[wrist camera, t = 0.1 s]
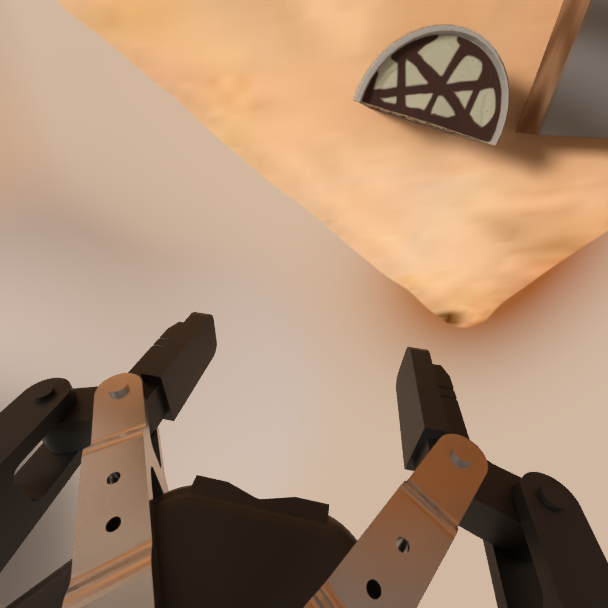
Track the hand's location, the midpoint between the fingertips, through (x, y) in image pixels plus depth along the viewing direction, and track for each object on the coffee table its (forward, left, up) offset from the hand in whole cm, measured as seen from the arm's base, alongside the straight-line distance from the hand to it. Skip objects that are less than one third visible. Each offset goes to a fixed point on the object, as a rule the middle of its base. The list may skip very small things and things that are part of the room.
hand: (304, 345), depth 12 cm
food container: (-11, +7, -29) cm, 32 cm away
